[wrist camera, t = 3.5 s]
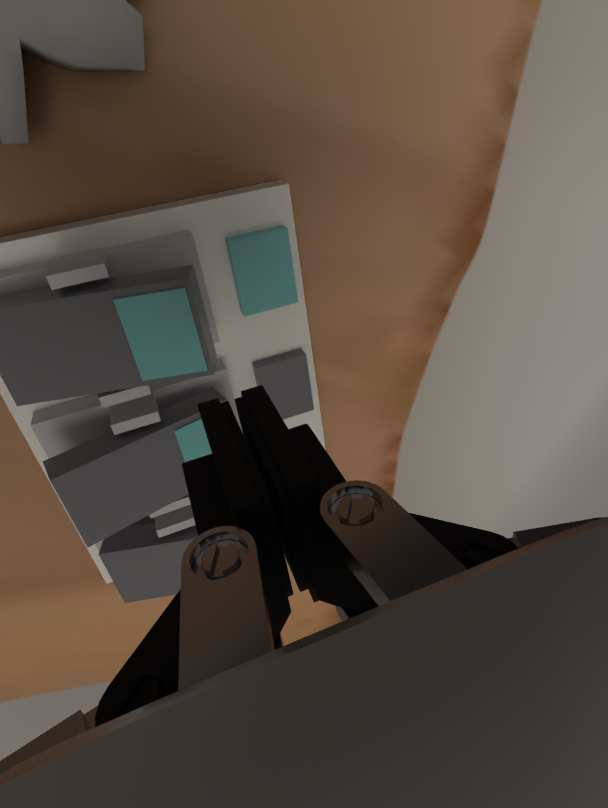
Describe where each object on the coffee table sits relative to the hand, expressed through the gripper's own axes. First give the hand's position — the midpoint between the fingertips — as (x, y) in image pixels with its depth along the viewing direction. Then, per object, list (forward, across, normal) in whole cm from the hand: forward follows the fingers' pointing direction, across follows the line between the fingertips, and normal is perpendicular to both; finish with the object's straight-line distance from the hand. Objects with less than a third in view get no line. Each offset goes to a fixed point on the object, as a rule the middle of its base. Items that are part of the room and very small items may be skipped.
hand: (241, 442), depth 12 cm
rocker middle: (+9, +3, +6) cm, 12 cm away
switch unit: (+14, +1, +6) cm, 16 cm away
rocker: (+9, +3, +13) cm, 16 cm away
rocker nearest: (+9, +3, 0) cm, 10 cm away
